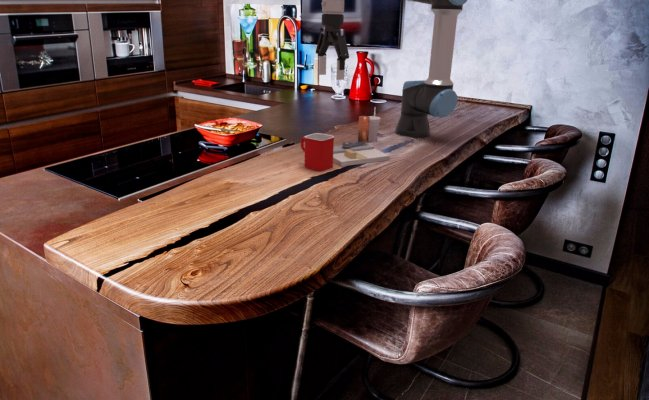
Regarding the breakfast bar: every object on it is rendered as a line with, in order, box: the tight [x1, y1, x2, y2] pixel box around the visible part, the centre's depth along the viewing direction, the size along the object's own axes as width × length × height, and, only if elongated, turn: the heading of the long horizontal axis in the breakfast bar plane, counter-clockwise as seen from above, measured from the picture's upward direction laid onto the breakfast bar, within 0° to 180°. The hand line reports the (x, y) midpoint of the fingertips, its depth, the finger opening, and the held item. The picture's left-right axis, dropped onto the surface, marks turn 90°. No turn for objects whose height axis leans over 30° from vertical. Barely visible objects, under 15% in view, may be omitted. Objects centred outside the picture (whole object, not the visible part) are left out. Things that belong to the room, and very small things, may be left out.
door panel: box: [333, 148, 391, 167], centre depth 178 cm, size 20×10×4 cm, turn 118°
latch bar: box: [341, 115, 370, 148], centre depth 184 cm, size 13×4×10 cm, turn 133°
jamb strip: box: [333, 142, 375, 154], centre depth 185 cm, size 20×6×2 cm, turn 118°
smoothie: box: [367, 106, 382, 143], centre depth 202 cm, size 6×6×14 cm
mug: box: [300, 132, 335, 172], centre depth 168 cm, size 12×8×11 cm
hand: (330, 77), depth 175 cm, fingers open, 13 cm apart
